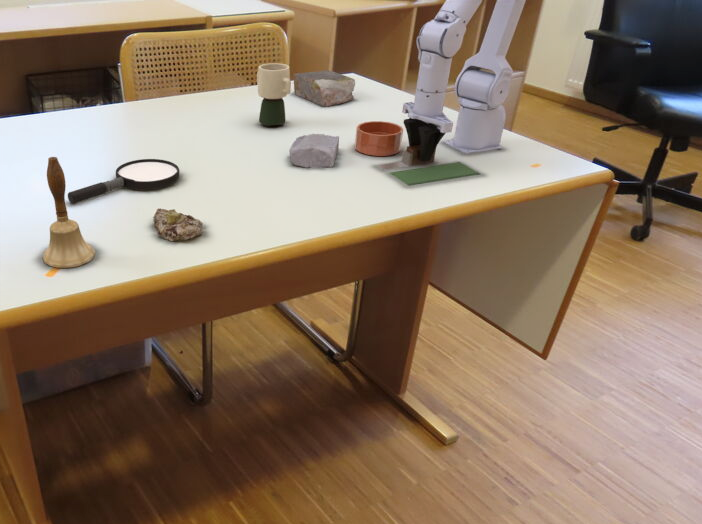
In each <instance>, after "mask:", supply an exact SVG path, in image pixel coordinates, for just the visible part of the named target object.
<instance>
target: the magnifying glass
mask: <svg viewBox="0 0 702 524" xmlns="http://www.w3.org/2000/svg"><path fill="white" fill-rule="evenodd" d="M179 179H180V168H179V166H178V165H177V164H175V163H174V162H172V161H169V160H165V159H159V158H143V159H136V160H131V161H128V162H125V163H122V164H120V165H119V166H118V167H117V168H116V169H115V178H114V179H111V180H106V181H103V182H98V183H94V184H91V185H88V186H84V187H82V188H78V189H75V190H72V191H69V192H68V193H67V199H68V201H69V203H70V204H72V205H74V204H78V203H80V202H84V201H87V200H90V199H93V198H96V197H99V196H102V195H105V194H106V193H109V192H113V191H114V190H119V189H122V188H125V189H127V190H133V191H134V190H135V191H136V190H145V191H148V190H158V189H162V188H166V187H169V186H172V185H174V184H175V183H177V182H178V180H179Z"/></svg>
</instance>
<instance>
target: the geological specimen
mask: <svg viewBox="0 0 702 524" xmlns="http://www.w3.org/2000/svg"><path fill="white" fill-rule="evenodd" d="M355 86H356V80H355V78H353V77H350V76H347V75H344V74H341V73H338V72H335V71H332V70H319V71H308V72H307V71H306V72H297V73H293V92H294V95H295V96H298V97H300V98H302V99H306V100H308V101H310V102H312V103H314V104H317V105H319V106H321V107H330V106H334V105H340V104H345V103H347V102H349V101H352V100H354V95H353V92H354V90H355Z"/></svg>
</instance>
